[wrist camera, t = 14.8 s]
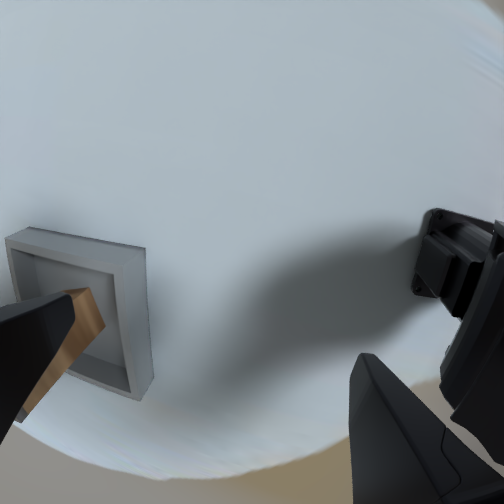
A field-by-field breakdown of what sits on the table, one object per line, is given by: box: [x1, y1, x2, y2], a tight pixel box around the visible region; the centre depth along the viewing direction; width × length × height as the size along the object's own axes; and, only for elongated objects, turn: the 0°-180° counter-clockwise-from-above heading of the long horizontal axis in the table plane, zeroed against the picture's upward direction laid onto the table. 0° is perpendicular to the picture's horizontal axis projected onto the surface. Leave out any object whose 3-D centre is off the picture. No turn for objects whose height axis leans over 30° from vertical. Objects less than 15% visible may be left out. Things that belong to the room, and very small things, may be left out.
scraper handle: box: [15, 287, 106, 423], centre depth 19 cm, size 4×4×13 cm
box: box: [5, 227, 154, 401], centre depth 24 cm, size 14×14×4 cm
